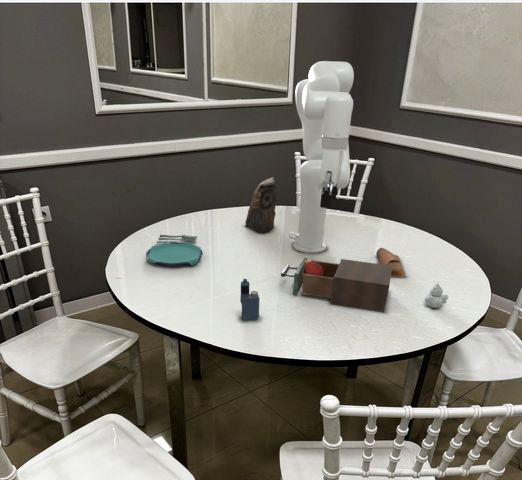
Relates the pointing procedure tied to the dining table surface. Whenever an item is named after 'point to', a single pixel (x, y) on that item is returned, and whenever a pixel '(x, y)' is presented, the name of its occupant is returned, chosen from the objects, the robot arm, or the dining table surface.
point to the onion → (313, 268)
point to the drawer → (313, 279)
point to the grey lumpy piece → (436, 297)
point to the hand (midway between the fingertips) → (328, 203)
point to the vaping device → (249, 302)
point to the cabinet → (361, 285)
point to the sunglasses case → (390, 262)
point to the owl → (262, 207)
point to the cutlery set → (175, 251)
